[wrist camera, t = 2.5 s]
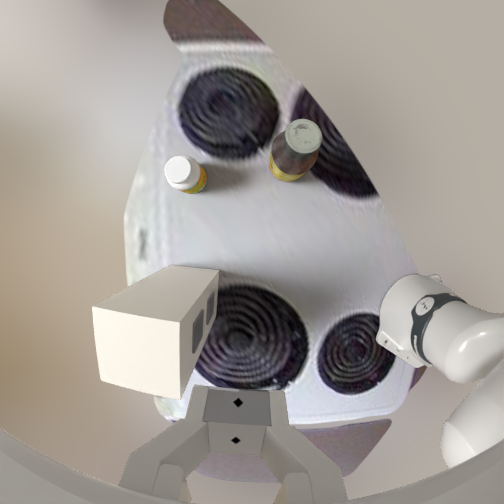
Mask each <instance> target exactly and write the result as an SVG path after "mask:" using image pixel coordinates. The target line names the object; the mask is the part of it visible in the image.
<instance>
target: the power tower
mask: <svg viewBox="0 0 504 504" xmlns="http://www.w3.org/2000/svg"><path fill="white" fill-rule="evenodd" d="M218 282H219V270H214V269H204V268H195V267H186V266H177V265H169V266H167V267H165V268H163V269H161V270H159V271H157V272H156V273H154V274H152V275H150V276H148V277H146V278H144V279H142V280H140V281H138V282H136V283H135V284H133V285H131V286H129V287H127V288H125V289H123V290H121V291H120V292H118V293H116V294H114V295H112V296H110V297H108V298H107V299H105V300H103V301H101V302H99V303H97V304H95V305H94V306H92V312H93V324H94V333H95V343H96V351H97V358H98V365H99V371H100V377H101V380H102V381H105V382H108V383H112V384H115V385H118V386H122V387H125V388H129V389H133V390H137V391H141V392H145V393H149V394H153V395H158V396H163V397H167V398H172V399H178V400H181V398H182V395H183V393H184V391H185V388H186V386H187V383H188V381H189V379H190V376H191V374H192V372H193V369H194V367H195V364H196V362H197V360H198V357H199V355H200V353H201V350H202V348H203V346H204V343H205V341H206V339H207V336H208V334H209V331H210V329H211V327H212V324H213V322H214V320H215V317H216V311H217V296H218Z"/></svg>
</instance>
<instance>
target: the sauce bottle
mask: <svg viewBox="0 0 504 504" xmlns="http://www.w3.org/2000/svg"><path fill="white" fill-rule="evenodd" d="M321 142H322V133H321V131H320V129H319V127H318V126H317V125H316V124H315V123H314V122H312V121H310V120H307V119H298V120H295V121H293V122H291V123H290V124H289V125H288V126H287V128H286V130H285V131H284V132H282V133H280V134H279V135H278V136H277V137H276V138H275V139H274V141H273V143H272V147H271V153H270V159H269V167H270V170H271V172H272V174H273V175H274V176H275V177H276V178H277V179H279V180H281V181H284V182H291V181H295V180H297V179H299V178H300V177H301V176H302V175H304V174H305V173H306V172H307V171H308V170H309V169H310V168H311V167H312V166H313V165H314V163H315V162H316V160H317V158H318V148H319V147H320V145H321Z"/></svg>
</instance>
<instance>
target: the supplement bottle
mask: <svg viewBox="0 0 504 504" xmlns="http://www.w3.org/2000/svg"><path fill="white" fill-rule="evenodd" d="M165 175H166V177H167V181H168V182H169V184H170V185H171V186H172V187H174V188H175V189H178V190H180V191H183V192H185V193H188V194H195V193H198V192H200V191H201V190H202V189H203V188H204V187H205V185H206V183H207V174H206V171H205V170H204V168H203V167H202V166H201V165H200V164H199V163H198V162H197V161H196V160H195V159H193V158H191V157H189V156H176V157H173V158H171V159H170V160H169V161H168V162H167V164H166V166H165Z"/></svg>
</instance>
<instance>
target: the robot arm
mask: <svg viewBox="0 0 504 504" xmlns="http://www.w3.org/2000/svg"><path fill="white" fill-rule="evenodd" d="M386 340H387V342H385V341H386ZM376 341H377V342H378V343H379V344H380V345H382V346H383V347H385V348H386V349H388V350H389V351H391V352H392V353H394V354H395V355H397V356H398V357H400V358H401V359H403V360H404V361H406V362H407V363H409V364H410V365H412V366H413V367H415V368H418V367H421V366H423V365H426V366H427V367H431V366H435V367H436V368H437V369H439V370H440V371H441V372H442V373H443V374H444V375H445V376H446V377H448V378H449V379H450V380H452V381H454V382H458V383H470V382H473V381H476V380H479V379H481V378H484V377H485V378H484V379H483V380H482V381H481V382H480V383H479V384H478V385H477V386H476V387H475V388H474V389H473V390H472V391H471V392H470V393H469V394H468V395H467V396H466V397H465V399H464V400H463V401H462V402H461V404H460V405H459V406H458V407H457V408H456V409H455V411H454V412H453V413H452V414H451V415H450V417H449V418H448V419H447V420H446V421H445V422H444V425H443V428H442V433H441V452H442V456H443V458H444V461H445V463H446V464H447V466H448V467H449V468H450V469H447V470H445V471H443V472H441V473H438V474H436V475H433V476H431V477H428V478H426V479H423V480H420V481H418V482H415V483H412V484H409V485H406V486H403V487H400V488H397V489H393V490H390V491H386V492H382V493H379V494H375V495H371V496H366V497H362V498H357V499H353V500H348V499H347V494H346V491H345V486H344V482H343V478H342V473H341V469H340V467H339V466H337V465H336V464H335V463H334V462H333V461H331V460H330V459H329V458H328V457H327V456H326V455H325V454H323V453H322V452H321V451H320V450H319V449H318V448H317V447H316V446H315V445H313V444H312V443H311V442H310V441H309V440H308V439H307V438H306V437H305V436H304V435H303V434H302V433H300V432H299V431H298V430H297V429H296V428H295V427H294V426H289V420H288V412H287V405H286V398H285V392H284V391H282V390H269V391H268V390H244V389H229V388H220V387H212V386H210V387H209V386H202V385H194V386H193V389H192V393H191V397H190V401H189V405H188V409H187V413H186V417H185V419H179V420H178V421H177V422H175V423H174V424H173V425H171V426H170V427H168V428H167V429H166V430H164V431H163V432H162V433H160V434H159V435H157V436H156V437H154V438H153V439H152V440H150V441H149V442H147V443H146V444H144V445H143V446H141V447H140V448H138V449H137V450H135V451H134V452H132V453H131V454H130V456H129V459H128V461H127V464H126V466H125V469H124V472H123V475H122V477H121V480H120V483H119V486H117V485H114V484H111V483H108V482H105V481H103V480H100V479H97V478H94V477H92V476H89V475H87V474H84V473H82V472H80V471H77V470H75V469H73V468H71V467H68V466H66V465H64V464H62V463H60V462H58V461H56V460H54V459H52V458H50V457H48V456H46V455H44V454H43V453H41V452H39V451H37V450H35V449H34V448H32V447H30V446H28V445H27V444H25V443H23V442H22V441H20V440H19V439H17V438H16V437H14V436H12V435H11V434H9V433H8V432H6V431H5V430H3V429H2V428H1V427H0V504H194V503H191V495H190V492H189V489H188V485H187V481H186V477H187V476H188V475H189V474H190V473H191V472H192V471H193V470H194V469H195V468H196V467H197V466H198V465H199V464H200V463H201V462H202V461H203V460H204V459H205V458H206V457H207V456H208V455H209V452H211V453H225V454H240V455H256V456H260V457H261V458H262V460H263V461H264V462H265V464H266V465H267V466H268V468H269V469H270V470H271V472H272V473H273V474H274V476H275V477H276V478H277V479H278V481H279V482H280V483H281V484H282V486H281V488H280V490H279V492H278V494H277V496H276V499H275V501H274V503H273V504H504V313H503V314H499V313H490V312H487V311H484V310H481V309H478V308H476V307H473V306H471V305H468V304H467V303H466V302H465V301H464V300H463V299H461V298H460V297H458V296H456V295H455V294H454V290H453V289H452V288H451V287H449V286H447V285H445V284H443V283H442V281H441V278H440V276H439V275H437V274H432V275H429V276H422V275H417V274H413V275H408V276H405V277H403V278H401V279H400V280H398V281H397V282H396V283H395V284H394V285H393V286H392V287H391V288H390V289H389V291H388V292H387V294H386V296H385V298H384V300H383V302H382V305H381V310H380V328H379V331H378V334H377V338H376Z"/></svg>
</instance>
